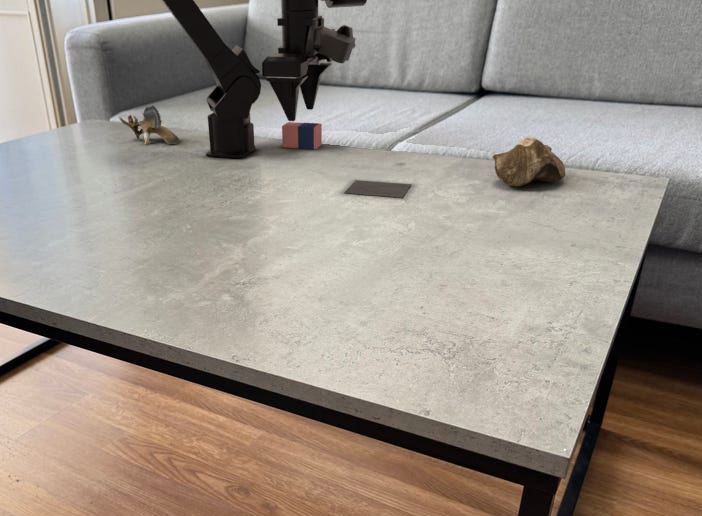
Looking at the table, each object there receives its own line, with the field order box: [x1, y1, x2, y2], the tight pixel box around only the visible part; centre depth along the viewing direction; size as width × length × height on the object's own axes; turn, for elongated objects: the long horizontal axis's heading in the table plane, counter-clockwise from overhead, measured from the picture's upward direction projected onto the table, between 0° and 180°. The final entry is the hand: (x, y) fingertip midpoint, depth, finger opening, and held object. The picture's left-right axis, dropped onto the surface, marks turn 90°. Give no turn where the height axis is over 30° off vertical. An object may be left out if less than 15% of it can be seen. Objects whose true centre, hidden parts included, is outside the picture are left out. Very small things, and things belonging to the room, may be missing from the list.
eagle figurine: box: [118, 105, 180, 146], centre depth 123 cm, size 8×7×9 cm
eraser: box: [281, 121, 323, 150], centre depth 117 cm, size 6×3×4 cm, turn 69°
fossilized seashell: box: [492, 136, 566, 187], centre depth 95 cm, size 8×7×10 cm
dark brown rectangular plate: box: [343, 179, 412, 199], centre depth 96 cm, size 8×6×1 cm
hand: (301, 114), depth 115 cm, fingers open, 9 cm apart
